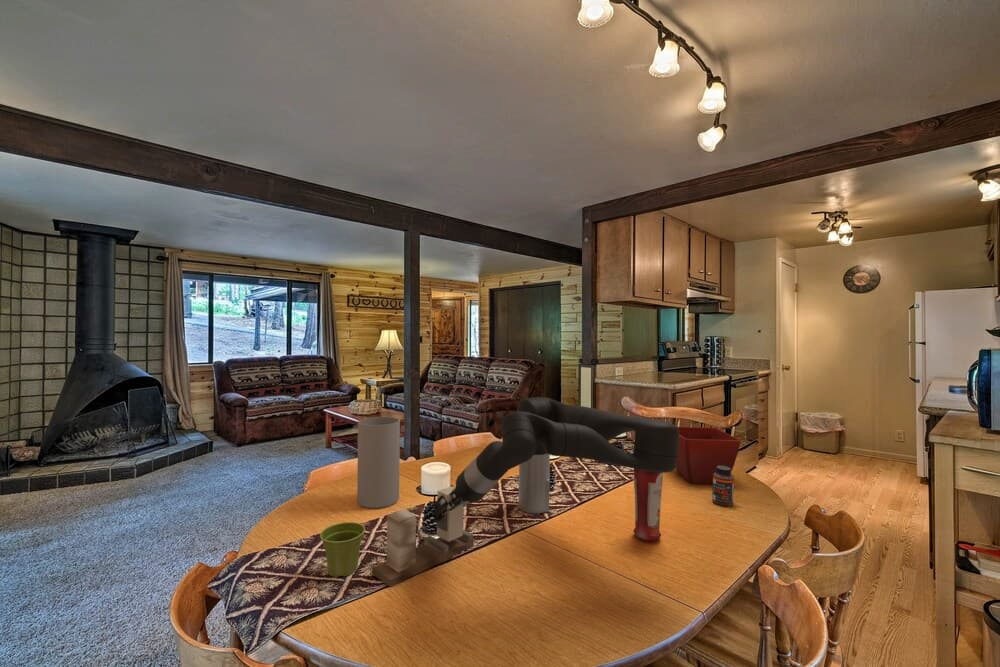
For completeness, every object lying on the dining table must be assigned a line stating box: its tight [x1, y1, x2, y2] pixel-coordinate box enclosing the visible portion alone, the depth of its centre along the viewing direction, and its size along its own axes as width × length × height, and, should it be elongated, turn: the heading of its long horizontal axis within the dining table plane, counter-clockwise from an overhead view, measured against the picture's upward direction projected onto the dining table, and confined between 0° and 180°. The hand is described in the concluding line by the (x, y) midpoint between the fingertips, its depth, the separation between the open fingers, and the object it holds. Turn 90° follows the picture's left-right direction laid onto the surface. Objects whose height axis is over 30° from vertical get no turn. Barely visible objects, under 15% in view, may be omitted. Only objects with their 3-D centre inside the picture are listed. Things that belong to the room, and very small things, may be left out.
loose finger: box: [436, 486, 464, 542], centre depth 107 cm, size 5×4×11 cm
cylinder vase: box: [356, 416, 401, 509], centre depth 136 cm, size 12×12×25 cm
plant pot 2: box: [675, 426, 741, 485], centre depth 161 cm, size 19×19×17 cm
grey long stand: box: [371, 508, 474, 588], centre depth 102 cm, size 24×7×12 cm, turn 138°
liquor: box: [633, 468, 664, 543], centre depth 114 cm, size 7×7×28 cm
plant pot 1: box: [319, 521, 366, 578], centre depth 97 cm, size 9×9×9 cm
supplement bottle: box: [711, 466, 735, 507], centre depth 138 cm, size 6×6×11 cm
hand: (444, 514), depth 109 cm, fingers closed on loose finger, 5 cm apart
